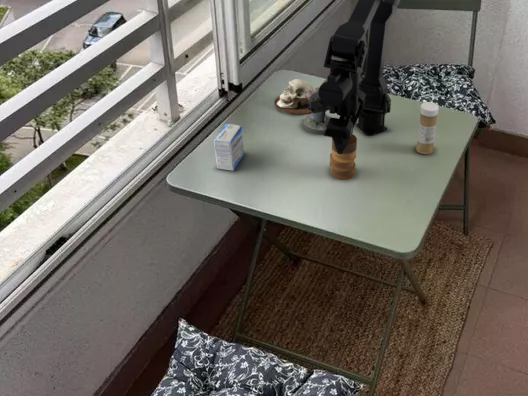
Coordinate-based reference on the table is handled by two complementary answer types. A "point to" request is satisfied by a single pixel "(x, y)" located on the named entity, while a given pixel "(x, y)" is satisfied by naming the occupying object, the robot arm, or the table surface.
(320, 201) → the table surface
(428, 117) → the sprinkles bottle
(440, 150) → the table surface
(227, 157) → the medicine box
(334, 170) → the chip pile
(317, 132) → the figurine
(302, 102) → the skull
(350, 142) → the walnut chip
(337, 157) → the oak chip
